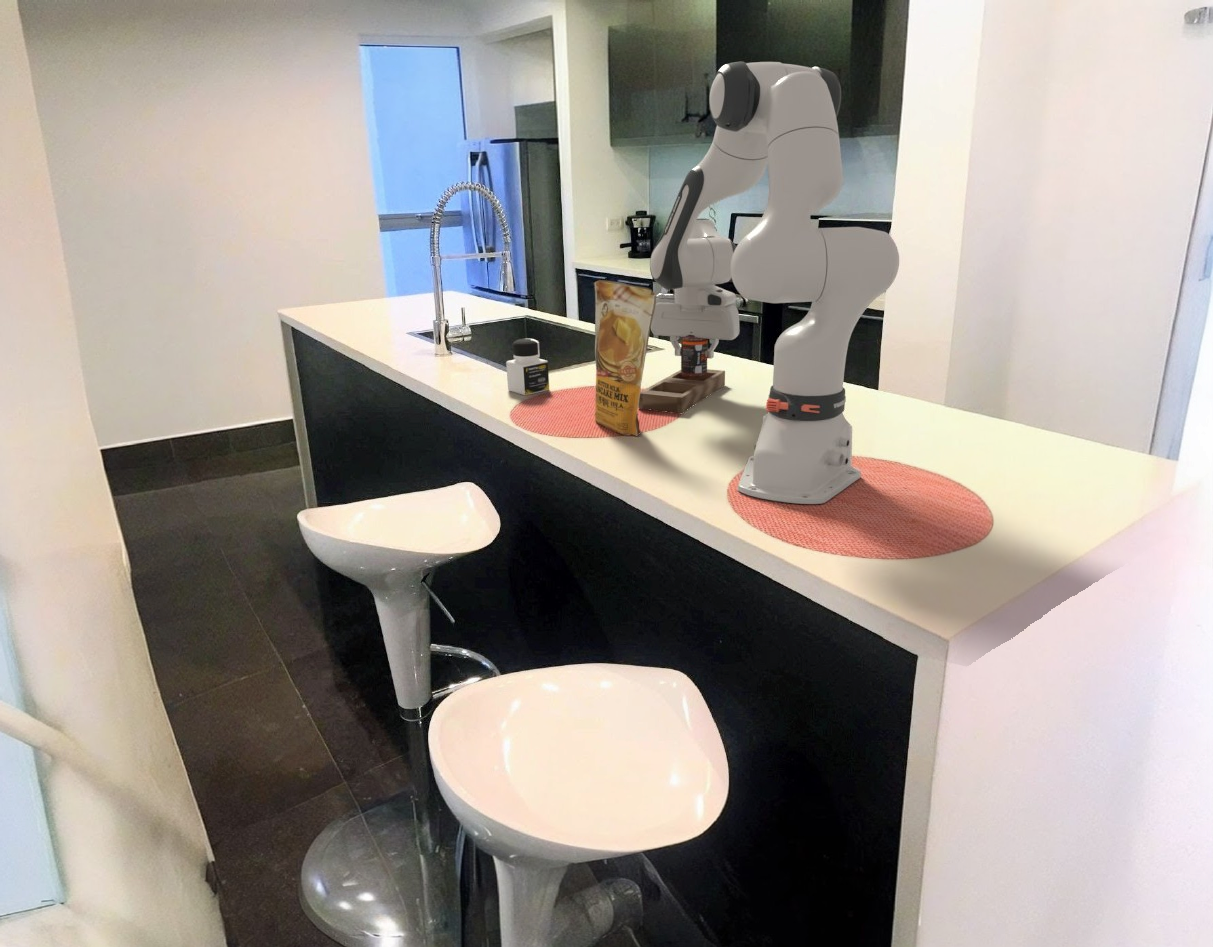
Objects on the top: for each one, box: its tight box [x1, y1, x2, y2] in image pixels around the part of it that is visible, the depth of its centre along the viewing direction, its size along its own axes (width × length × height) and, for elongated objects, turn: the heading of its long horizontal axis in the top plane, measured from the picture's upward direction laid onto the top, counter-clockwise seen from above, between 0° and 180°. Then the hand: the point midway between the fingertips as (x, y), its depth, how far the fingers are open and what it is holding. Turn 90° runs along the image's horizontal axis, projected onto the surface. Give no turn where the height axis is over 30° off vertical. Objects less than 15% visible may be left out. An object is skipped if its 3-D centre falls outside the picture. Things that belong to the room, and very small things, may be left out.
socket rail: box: [638, 368, 726, 414], centre depth 186 cm, size 26×10×4 cm, turn 152°
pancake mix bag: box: [593, 279, 657, 437], centre depth 162 cm, size 7×19×28 cm, turn 29°
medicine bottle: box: [505, 338, 550, 396], centre depth 194 cm, size 7×7×12 cm
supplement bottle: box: [680, 332, 709, 378], centre depth 188 cm, size 6×6×11 cm
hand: (694, 356), depth 189 cm, fingers closed on supplement bottle, 6 cm apart
